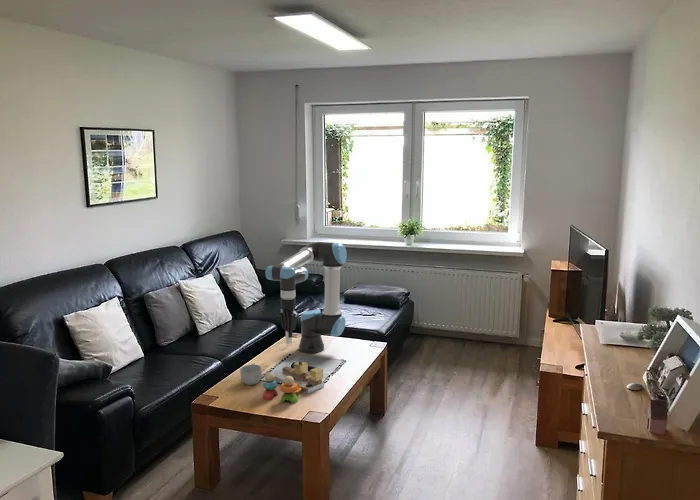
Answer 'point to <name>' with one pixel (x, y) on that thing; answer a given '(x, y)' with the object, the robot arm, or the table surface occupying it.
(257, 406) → the table surface
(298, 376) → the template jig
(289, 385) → the stacking toy figures
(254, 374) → the teacup
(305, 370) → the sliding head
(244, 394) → the table surface
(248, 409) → the table surface
